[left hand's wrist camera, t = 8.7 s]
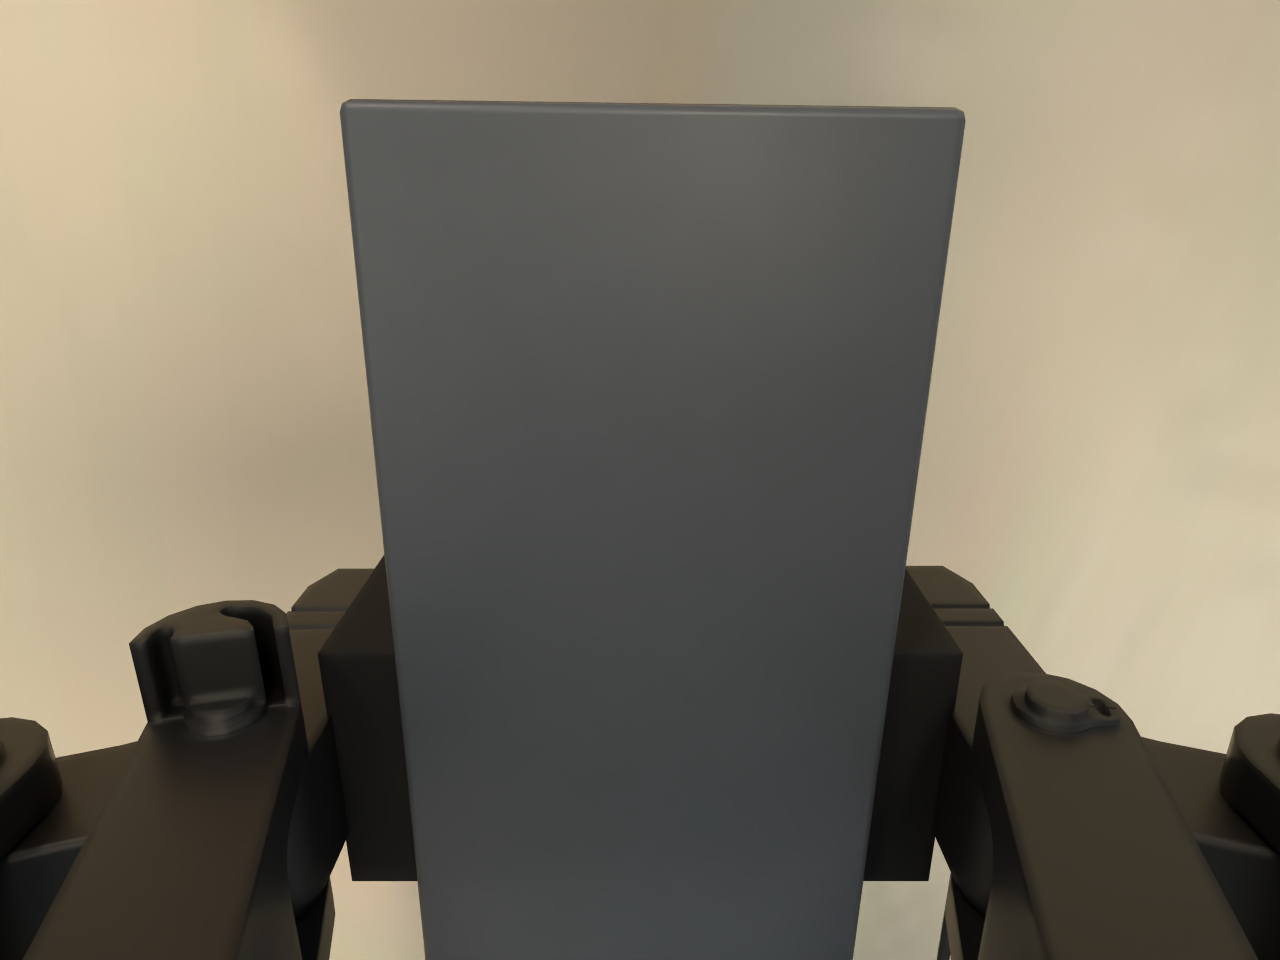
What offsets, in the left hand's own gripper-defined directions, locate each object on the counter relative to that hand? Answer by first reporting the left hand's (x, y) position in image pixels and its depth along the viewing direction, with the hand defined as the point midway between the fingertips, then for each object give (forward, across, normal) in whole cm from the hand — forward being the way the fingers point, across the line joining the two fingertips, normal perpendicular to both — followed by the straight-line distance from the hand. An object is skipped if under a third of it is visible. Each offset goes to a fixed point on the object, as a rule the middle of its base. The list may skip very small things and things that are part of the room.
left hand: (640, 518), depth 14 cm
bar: (+1, 0, -33) cm, 33 cm away
